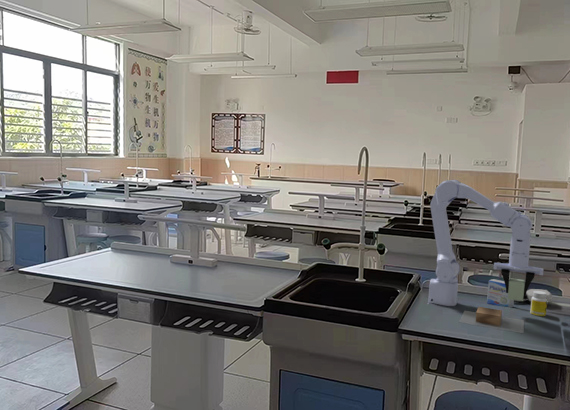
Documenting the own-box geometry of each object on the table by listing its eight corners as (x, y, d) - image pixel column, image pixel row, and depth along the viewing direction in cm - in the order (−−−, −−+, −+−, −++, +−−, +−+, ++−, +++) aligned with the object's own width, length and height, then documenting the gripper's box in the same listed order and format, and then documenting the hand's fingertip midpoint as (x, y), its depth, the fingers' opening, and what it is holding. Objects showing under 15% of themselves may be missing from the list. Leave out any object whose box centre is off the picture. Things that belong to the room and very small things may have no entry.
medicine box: (486, 303, 178) (488, 280, 177) (492, 301, 181) (493, 278, 180) (508, 309, 172) (510, 284, 171) (513, 306, 175) (515, 282, 174)
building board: (458, 325, 153) (458, 322, 152) (464, 313, 165) (464, 310, 165) (523, 336, 144) (523, 333, 144) (523, 323, 157) (524, 320, 157)
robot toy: (507, 306, 179) (554, 308, 174) (507, 293, 179) (554, 296, 174) (505, 297, 191) (549, 300, 185) (505, 286, 190) (549, 288, 185)
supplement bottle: (547, 320, 161) (549, 294, 160) (532, 318, 162) (534, 293, 161) (543, 315, 166) (545, 291, 165) (528, 314, 167) (530, 289, 166)
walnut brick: (475, 321, 154) (476, 312, 153) (477, 315, 160) (478, 306, 159) (499, 325, 150) (500, 316, 150) (501, 319, 157) (502, 310, 156)
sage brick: (507, 299, 160) (509, 280, 160) (508, 295, 164) (509, 278, 164) (523, 301, 158) (524, 283, 158) (523, 298, 162) (524, 280, 162)
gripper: (494, 251, 159) (491, 292, 161) (544, 257, 153) (541, 300, 154) (495, 248, 166) (492, 288, 167) (544, 253, 159) (540, 294, 161)
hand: (515, 293), depth 161 cm, fingers closed on sage brick, 4 cm apart
